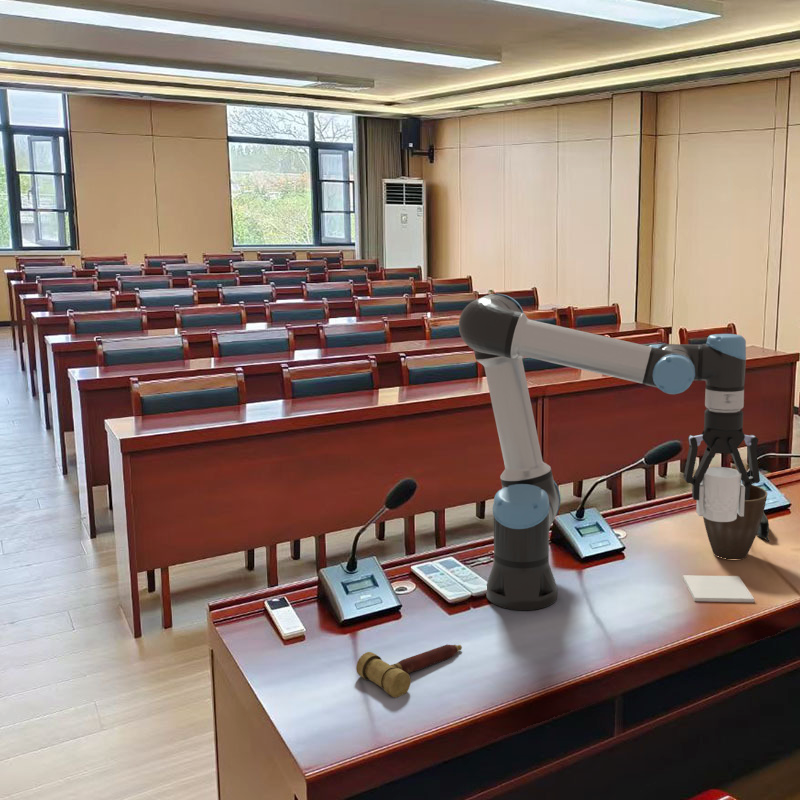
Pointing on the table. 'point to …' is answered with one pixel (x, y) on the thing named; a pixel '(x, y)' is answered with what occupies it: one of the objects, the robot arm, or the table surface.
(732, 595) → the tile
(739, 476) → the white cup
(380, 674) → the gavel
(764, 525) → the mobile phone
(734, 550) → the plant pot
